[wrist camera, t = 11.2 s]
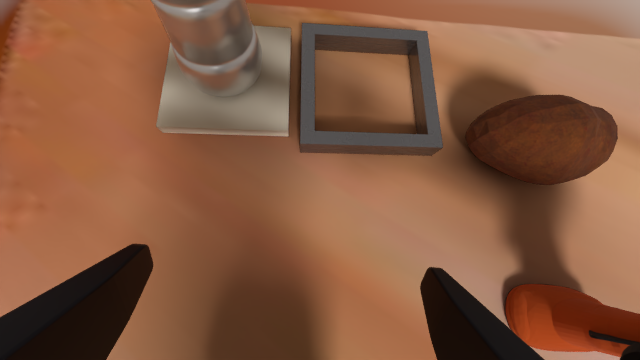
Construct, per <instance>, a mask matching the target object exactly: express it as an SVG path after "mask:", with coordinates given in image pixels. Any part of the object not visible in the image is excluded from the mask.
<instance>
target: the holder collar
mask: <svg viewBox="0 0 640 360" xmlns="http://www.w3.org/2000/svg"><path fill="white" fill-rule="evenodd" d="M315 50H330V51H347V52H365V53H382V54H399V55H408V56H409V65H410V74H411V83H412V92H413V101H414V110H415V119H416V128H417V134H396V133H365V132H334V131H315ZM442 148H443V144H442V137H441V129H440V122H439V115H438V107H437V100H436V92H435V85H434V78H433V70H432V63H431V56H430V48H429V41H428V33H427V31H417V30H402V29H387V28H372V27H356V26H341V25H326V24H311V23H302V57H301V122H300V152H308V153H347V154H387V155H426V156H432V155H433V154H435V153H436V152H438V151H439V150H440V149H442Z"/></svg>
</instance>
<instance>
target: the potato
mask: <svg viewBox="0 0 640 360" xmlns="http://www.w3.org/2000/svg"><path fill="white" fill-rule="evenodd" d="M465 139H466V141H467V143H468V146H469V148H470V150H471V151H472V152H473V154H474V155H475V156H476V157H477V158H478V159H480V160H481V161H483V162H484V163H486V164H488V165H490V166H492V167H494V168H495V169H497V170H499V171H501V172H503V173H505V174H507V175H509V176H512V177H514V178H517V179H520V180H523V181H525V182H529V183H535V184H542V185H552V184H558V183H563V182H567V181H570V180H574V179H577V178H580V177H583V176H586V175H587V174H589V173H590V172H592V171H593V170H595V169H596V168H598V167H599V166H600V165H602V164H603V163H605V162H606V161H607V160H608V159H609V157H610V155H611V154H612V152H613V150H614V147H615V144H616V142H617V139H618V136H617V125H616V123H615V121H614V119H613V117H612V115H611V114H609V113H608V112H607V111H605V110H604V109H603V108H599V107H594V106H590V105H588V104H586V103H584V102H581V101H579V100H577V99H575V98H572V97H569V96H564V95H535V96H528V97H524V98H519V99H515V100H510V101H507V102H505V103H502V104H500V105H497V106H495V107H493V108H491V109H489V110H487V111H486V112H484V113H483V114H482V115H480V116H479V117H478V118H477V119H476V120H475V121H474V122H473V123H472V124H471V125H470V127H469V129H468V131H467V132H466V136H465Z"/></svg>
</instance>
